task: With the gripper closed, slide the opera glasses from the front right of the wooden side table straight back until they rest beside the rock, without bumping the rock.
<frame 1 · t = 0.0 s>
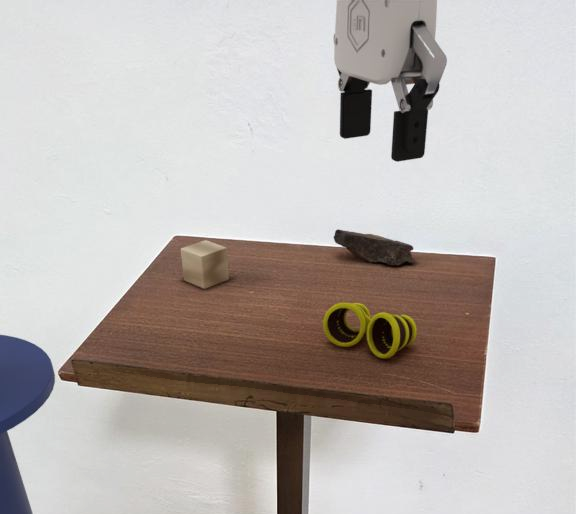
hand: (380, 147, 71), 21 cm above the table, tool pointing down, fingers open, 9 cm apart
opera glasses: (369, 346, 86), on the table
pale wood block: (206, 280, 101), on the table
rock: (374, 260, 106), on the table
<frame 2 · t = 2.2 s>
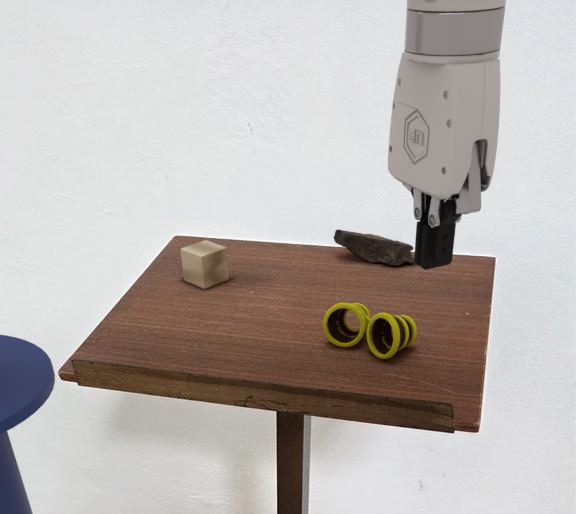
hand: (432, 263, 70), 13 cm above the table, tool pointing down, fingers closed
nothing on the table moved.
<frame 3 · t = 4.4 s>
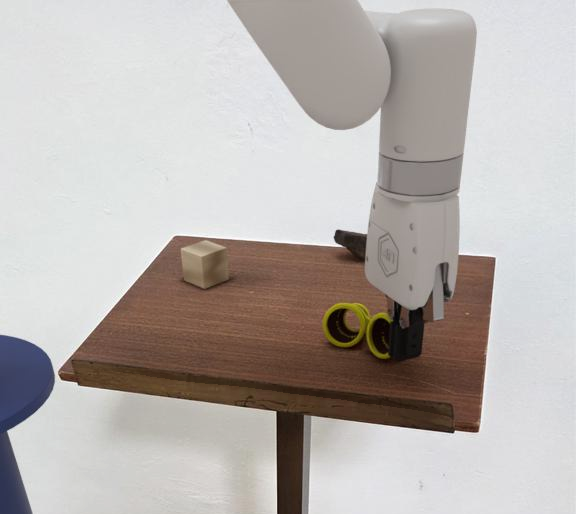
hand: (404, 355, 79), 2 cm above the table, tool pointing down, fingers closed
opera glasses: (369, 347, 86), on the table, touching gripper
everything else where it was.
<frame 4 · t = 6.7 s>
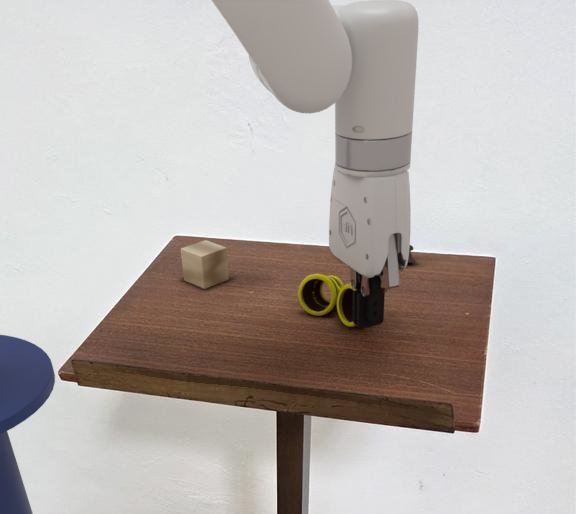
hand: (367, 323, 86), 2 cm above the table, tool pointing down, fingers closed
opera glasses: (341, 316, 92), on the table, touching gripper
everything else where it was.
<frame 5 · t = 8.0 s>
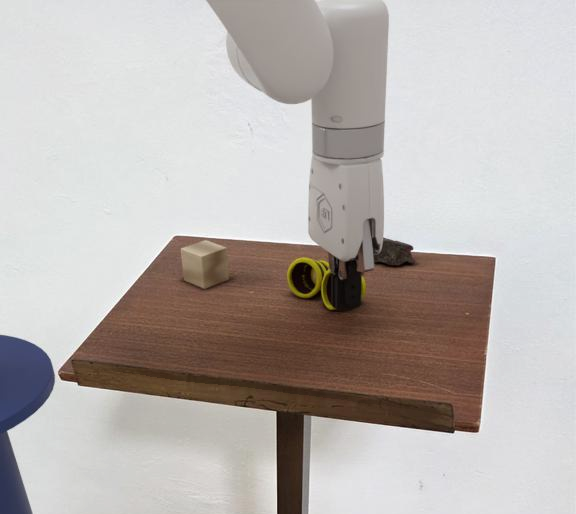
hand: (346, 306, 89), 2 cm above the table, tool pointing down, fingers closed
opera glasses: (326, 300, 96), on the table, touching gripper
everything else where it was.
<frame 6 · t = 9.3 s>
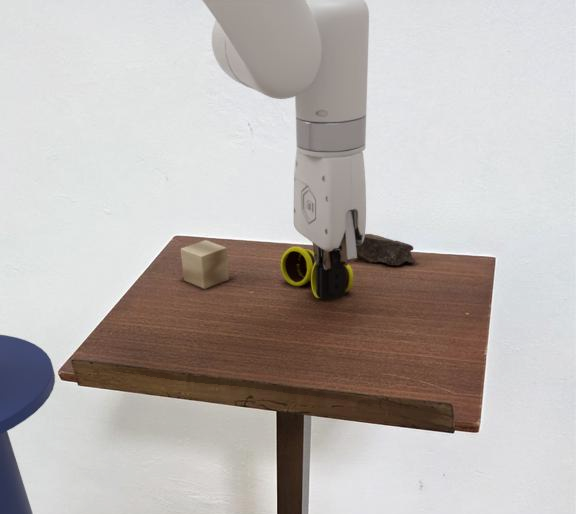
hand: (330, 296, 92), 2 cm above the table, tool pointing down, fingers closed
opera glasses: (317, 289, 99), on the table, touching gripper
everything else where it was.
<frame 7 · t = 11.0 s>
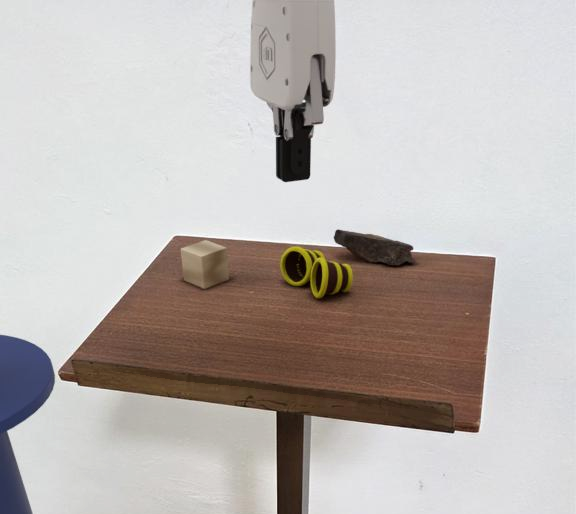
hand: (293, 178, 78), 17 cm above the table, tool pointing down, fingers closed
opera glasses: (317, 289, 99), on the table
everything else where it was.
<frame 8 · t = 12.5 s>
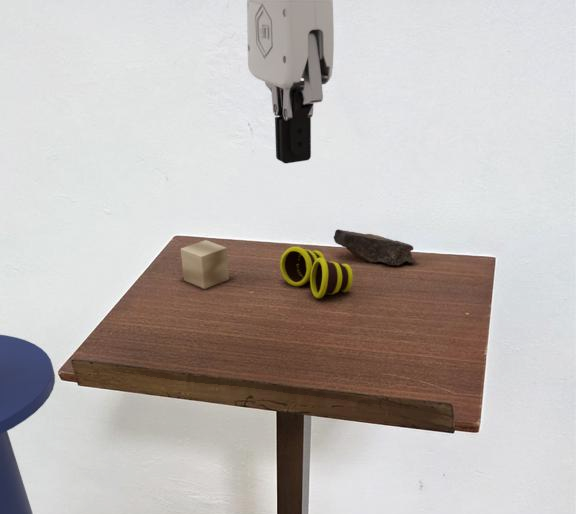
hand: (293, 159, 76), 19 cm above the table, tool pointing down, fingers closed
nothing on the table moved.
at the end: opera glasses 13.0 cm from the rock (horizontally); opera glasses moved 17.8 cm from its start; rock moved 0.2 cm from its start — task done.
